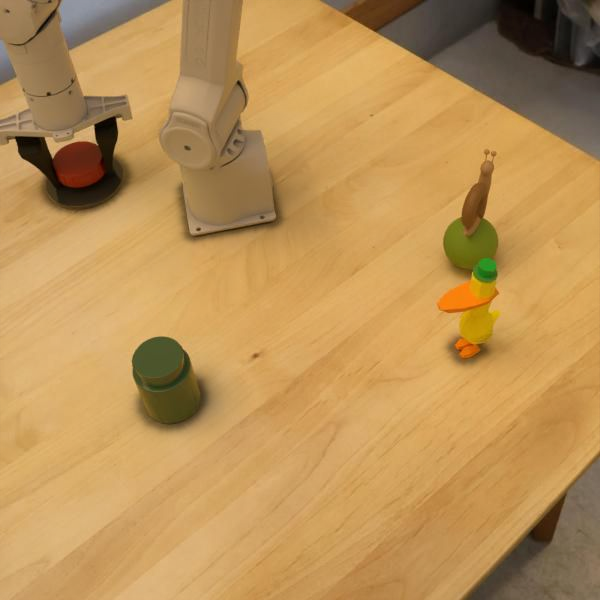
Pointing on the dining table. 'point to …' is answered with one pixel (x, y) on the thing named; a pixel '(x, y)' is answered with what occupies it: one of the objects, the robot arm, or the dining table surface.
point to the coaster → (87, 191)
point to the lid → (79, 164)
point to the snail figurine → (473, 225)
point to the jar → (165, 380)
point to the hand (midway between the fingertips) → (83, 176)
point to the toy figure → (474, 307)
